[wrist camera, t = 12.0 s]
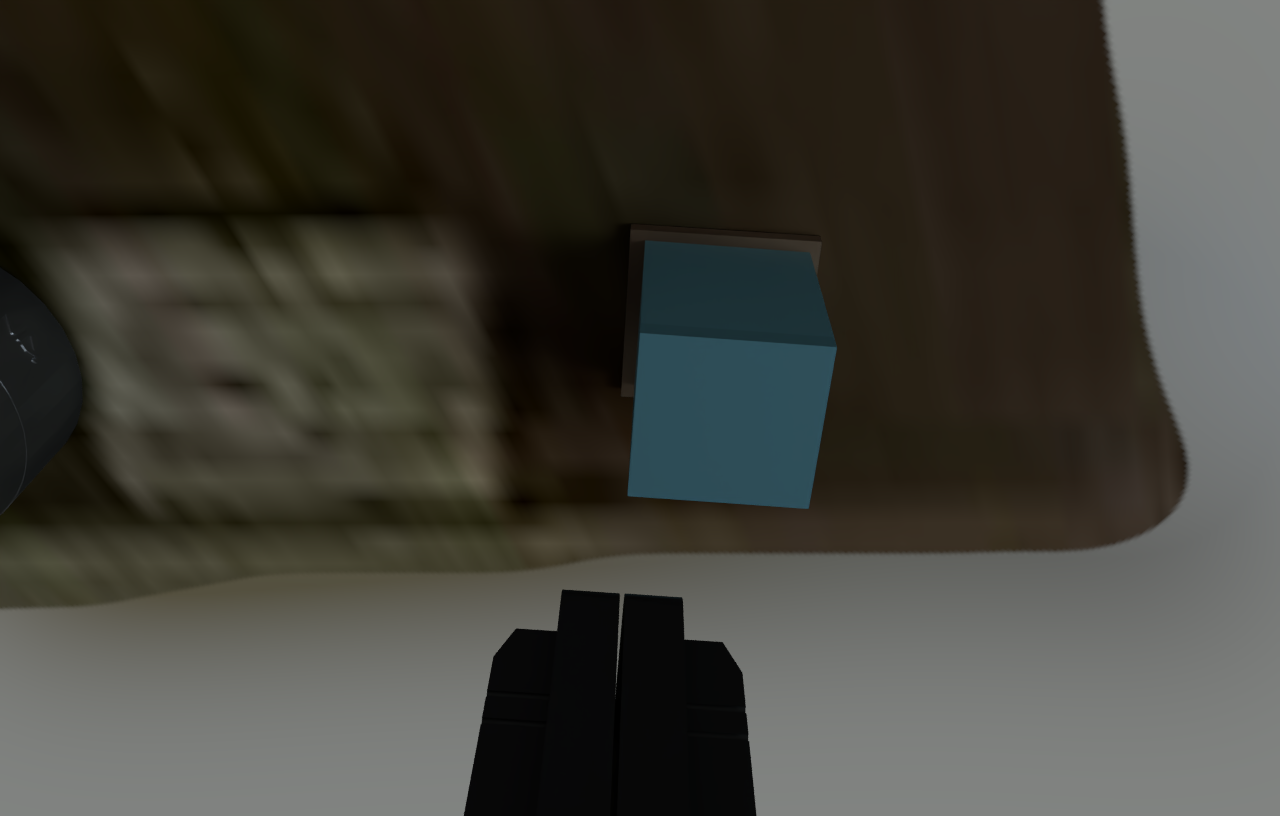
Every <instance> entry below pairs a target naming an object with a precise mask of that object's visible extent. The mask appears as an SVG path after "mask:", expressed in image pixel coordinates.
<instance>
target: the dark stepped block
mask: <svg viewBox="0 0 1280 816" xmlns="http://www.w3.org/2000/svg"><path fill="white" fill-rule="evenodd" d="M645 240H646V241H659V242H673V243H686V244H700V245H714V246H727V247H741V248H755V249H768V250H782V251H795V252H809V253H810V254H811V258H812V261H813V265H814V269H815V272H816V276H817V271H818V264H819V258H820V251H821V244H822V241H821V238H820V236H811V235H796V234H781V233H765V232H750V231H734V230H719V229H703V228H688V227H673V226H657V225H642V224H631V232H630V249H629V266H628V284H627V301H626V318H625V336H624V353H623V370H622V387H621V396H624V397H634V384H635V371H636V358H637V344H638V331H639V317H640V304H641V291H642V277H643V264H644V251H645Z"/></svg>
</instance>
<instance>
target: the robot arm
mask: <svg viewBox="0 0 1280 816" xmlns="http://www.w3.org/2000/svg"><path fill="white" fill-rule="evenodd" d="M81 406H82V377H81V373H80V370H79V366H78V362H77V359H76V355H75V352H74V350H73V348H72V346H71V344H70V342H69V340H68V338H67V336H66V334H65V332H64V330H63V328H62V327H61V326H60V324H59V323H58V322H57V320H56V319H55V318H54V316H53V315H52V314H51V312H50V311H49V310H48V308H47V307H46V306H45V304H44V303H43V302H42V301H41V300H40V299H39V298H37V297H36V296H35V295H34V294H33V293H32V292H31V291H30V290H29V289H28V288H27V287H26V286H25V285H24V284H23V283H22V282H21V281H19V280H18V279H16V278H15V277H13V276H12V275H10V274H9V273H7V272H6V271H5V270H3V269H2V268H0V515H1V514H2V513H3V512H4V511H5V510H6V509H7V508H8V507H9V506H10V505H11V503H12V502H13V501H14V500H15V499H16V498H17V497H18V496H19V494H20V493H21V492H22V491H23V490H24V489H25V488H26V487H27V486H28V484H29V483H30V482H31V481H32V480H33V479H34V478H35V477H36V476H37V474H38V473H39V472H40V471H41V470H42V469H43V468H44V467H45V465H46V464H47V463H48V462H49V461H50V460H51V459H52V458H53V457H54V455H55V454H56V453H57V452H58V451H59V450H60V449H61V448H62V447H63V445H64V444H65V443H66V442H67V440H68V439H69V437H70V435H71V433H72V432H73V430H74V428H75V427H76V425H77V423H78V418H79V414H80V410H81ZM619 601H620V594H619V593H604V592H590V591H574V590H562V595H561V604H560V611H559V621H558V629H557V631H544V630H529V629H515V631H514V632H513V633H512V634H511V635H510V637H509V638H508V639H507V640H506V642H505V643H504V644H503V645H502V647H501V648H500V649H499V650H498V652H497V653H496V654H495V656H494V657H493V662H492V667H491V673H490V678H489V684H488V689H487V697H486V700H485V705H484V711H483V716H482V724H481V726H480V732H479V737H478V742H477V748H476V753H475V758H474V764H473V769H472V774H471V780H470V785H469V791H468V797H467V802H466V807H465V812H464V816H756V808H755V797H754V787H753V777H752V767H751V756H750V747H749V741H748V725H747V715H746V713H745V708H746V706H745V695H744V684H743V674H742V672H741V670H740V668H739V667H738V665H737V664H736V662H735V661H734V659H733V658H732V656H731V655H730V653H729V651H728V650H727V648H726V647H725V645H724V644H723V642H711V641H697V640H684V619H683V618H684V617H683V599H682V597H667V596H652V595H637V594H625V595H624V604H623V615H622V626H621V637H620V649H619V660H618V672H617V683H616V668H617V646H618V624H619ZM615 691H616V695H615Z"/></svg>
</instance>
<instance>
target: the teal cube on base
mask: <svg viewBox="0 0 1280 816" xmlns="http://www.w3.org/2000/svg"><path fill="white" fill-rule="evenodd" d="M836 349H837V346H836V343H835V339H834V336H833V332H832V328H831V325H830V321H829V318H828V314H827V311H826V307H825V304H824V300H823V297H822V293H821V290H820V286H819V283H818V279H817V276H816V272H815V269H814V265H813V261H812V258H811V254H810V253H809V252H795V251H782V250H768V249H755V248H741V247H727V246H714V245H700V244H686V243H673V242H659V241H646V240H645V251H644V264H643V277H642V291H641V304H640V317H639V331H638V344H637V358H636V371H635V384H634V400H633V417H632V433H631V450H630V466H629V482H628V496H635V497H649V498H663V499H677V500H692V501H706V502H720V503H734V504H748V505H763V506H777V507H791V508H805V509H809V503H810V497H811V492H812V486H813V480H814V475H815V469H816V463H817V457H818V452H819V446H820V440H821V435H822V429H823V423H824V417H825V412H826V406H827V400H828V395H829V389H830V383H831V378H832V372H833V366H834V360H835V355H836Z"/></svg>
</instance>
